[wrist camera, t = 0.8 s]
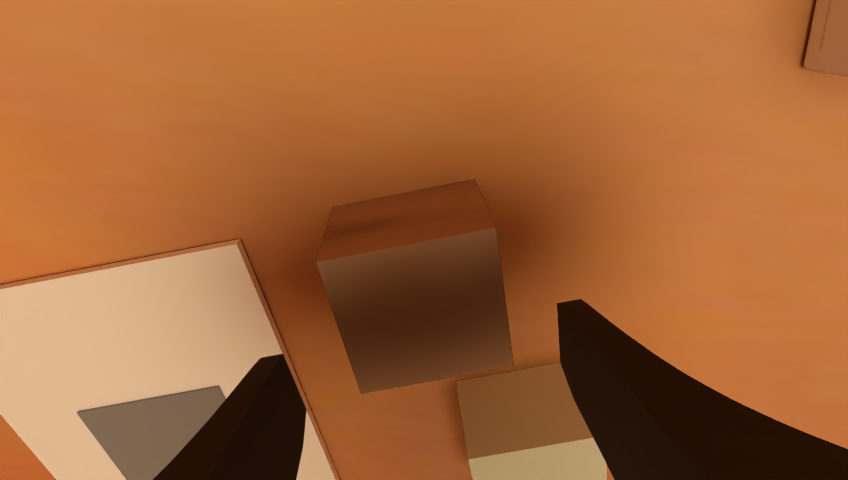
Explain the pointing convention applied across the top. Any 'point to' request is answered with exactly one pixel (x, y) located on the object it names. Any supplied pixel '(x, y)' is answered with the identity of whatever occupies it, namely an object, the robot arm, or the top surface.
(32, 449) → the board
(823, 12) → the small box
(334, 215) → the walnut block
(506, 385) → the sage block
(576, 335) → the robot arm
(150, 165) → the top surface
